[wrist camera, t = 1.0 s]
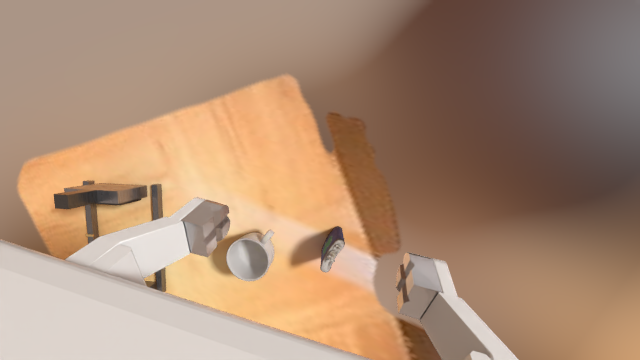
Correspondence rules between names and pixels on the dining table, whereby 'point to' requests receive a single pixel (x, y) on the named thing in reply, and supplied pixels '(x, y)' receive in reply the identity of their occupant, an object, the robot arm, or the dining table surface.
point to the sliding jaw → (99, 195)
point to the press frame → (157, 214)
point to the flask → (331, 248)
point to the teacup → (251, 256)
